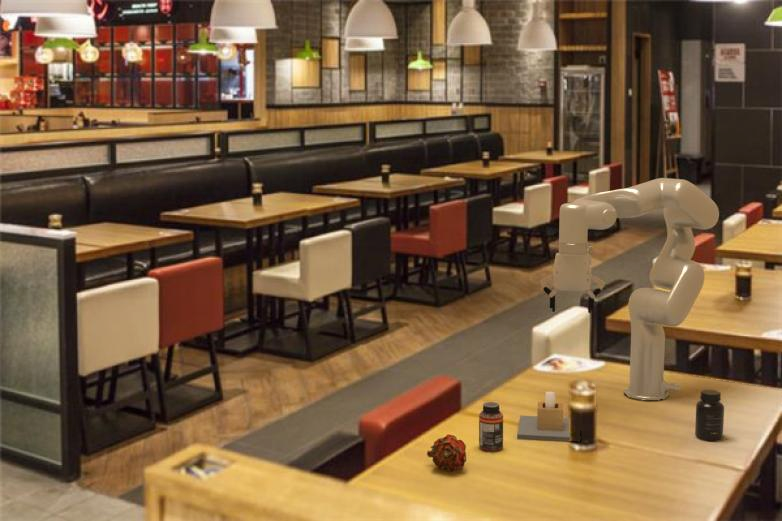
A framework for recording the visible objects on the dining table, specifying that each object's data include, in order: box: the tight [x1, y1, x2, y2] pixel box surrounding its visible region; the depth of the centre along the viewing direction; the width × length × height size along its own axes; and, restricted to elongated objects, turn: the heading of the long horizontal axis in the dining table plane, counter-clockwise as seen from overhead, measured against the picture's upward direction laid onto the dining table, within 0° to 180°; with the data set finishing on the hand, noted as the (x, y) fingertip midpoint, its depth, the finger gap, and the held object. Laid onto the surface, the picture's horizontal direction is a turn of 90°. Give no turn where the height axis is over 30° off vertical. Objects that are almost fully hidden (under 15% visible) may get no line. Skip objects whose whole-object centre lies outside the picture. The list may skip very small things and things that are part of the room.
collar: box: [536, 401, 564, 431], centre depth 262 cm, size 6×6×6 cm
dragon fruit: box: [426, 433, 467, 472], centre depth 236 cm, size 8×8×12 cm
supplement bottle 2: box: [694, 389, 725, 442], centre depth 255 cm, size 7×7×12 cm
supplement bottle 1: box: [478, 401, 504, 453], centre depth 248 cm, size 6×6×11 cm
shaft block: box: [516, 390, 570, 443], centre depth 262 cm, size 16×16×10 cm
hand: (571, 311), depth 274 cm, fingers open, 9 cm apart
